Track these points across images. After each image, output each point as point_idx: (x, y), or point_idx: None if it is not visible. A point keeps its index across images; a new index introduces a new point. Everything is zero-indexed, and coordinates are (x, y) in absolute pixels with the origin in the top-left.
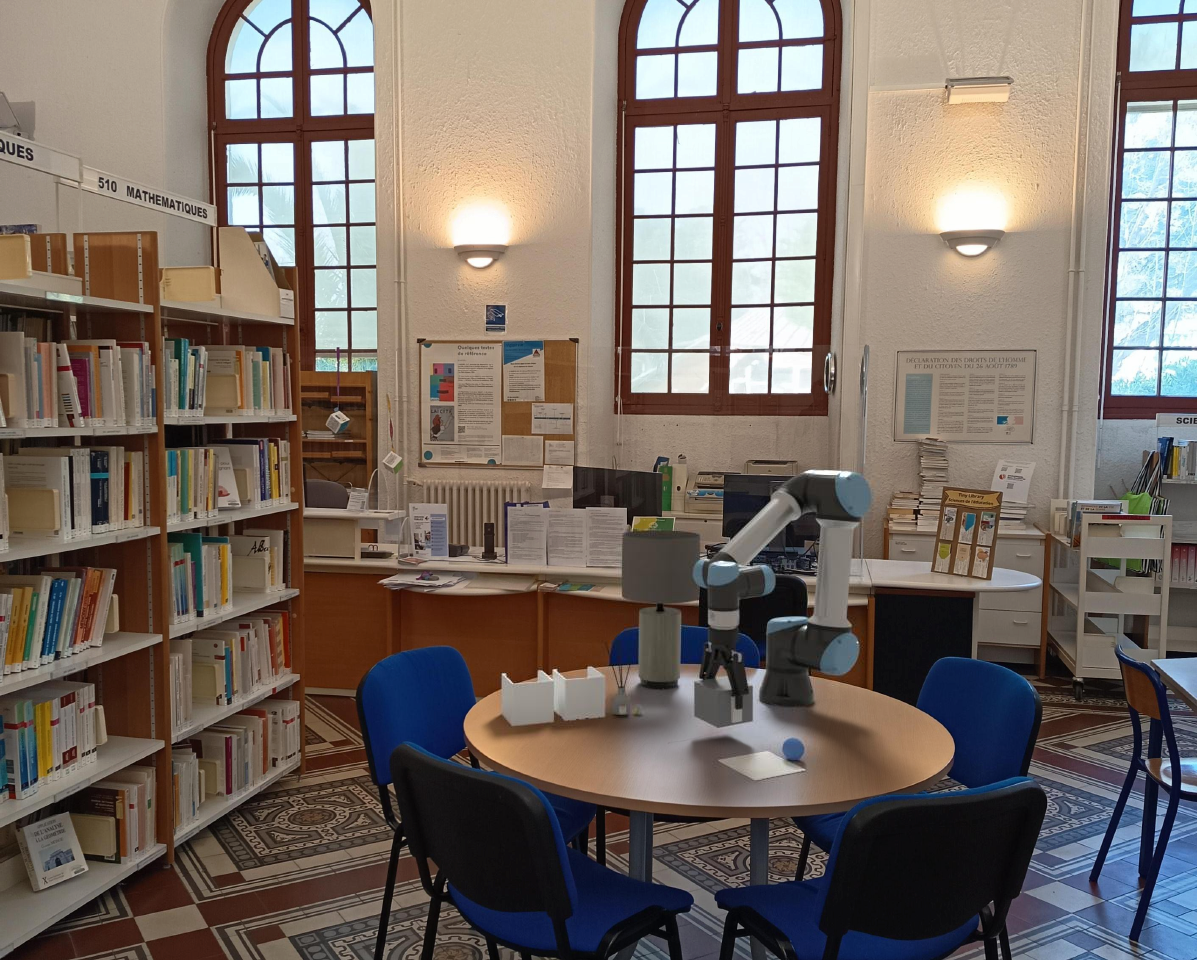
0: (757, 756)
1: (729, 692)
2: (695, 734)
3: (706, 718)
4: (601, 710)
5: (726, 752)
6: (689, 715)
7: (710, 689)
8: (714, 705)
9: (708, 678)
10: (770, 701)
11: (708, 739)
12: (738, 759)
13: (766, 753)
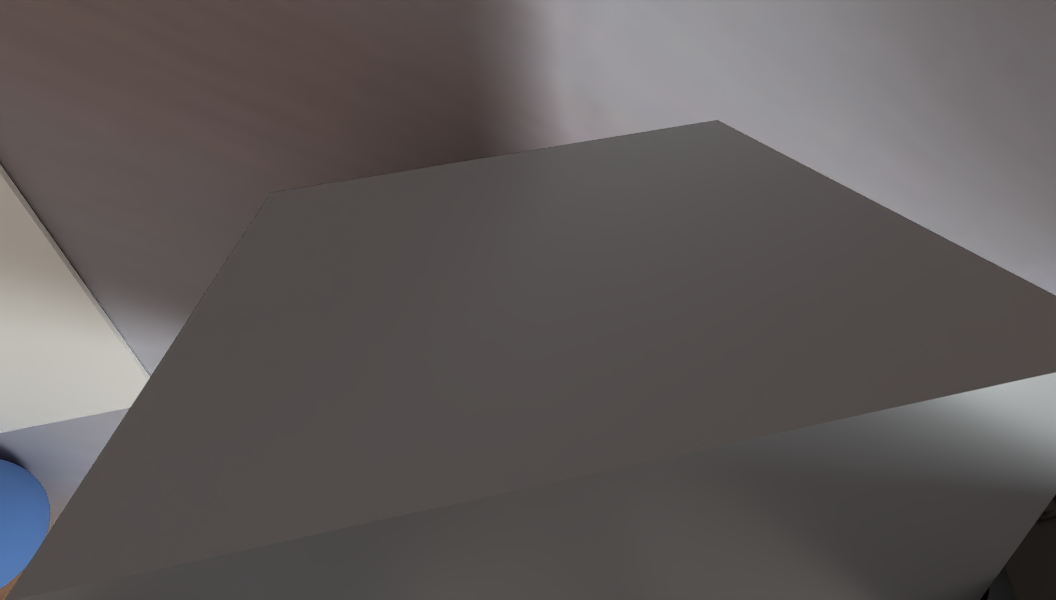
0: (22, 315)
1: None
2: (646, 94)
3: (498, 170)
4: None
5: (152, 142)
6: (964, 226)
7: (411, 486)
8: (288, 305)
9: (997, 592)
10: None
11: (503, 141)
12: None
13: (107, 383)
